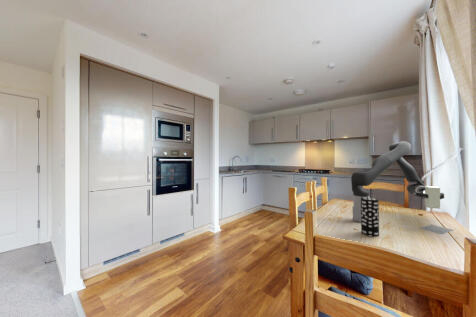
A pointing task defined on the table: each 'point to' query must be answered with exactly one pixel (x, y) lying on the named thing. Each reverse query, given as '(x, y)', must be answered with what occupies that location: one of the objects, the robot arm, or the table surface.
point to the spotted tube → (370, 216)
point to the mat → (436, 229)
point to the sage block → (432, 197)
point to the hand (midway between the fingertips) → (434, 197)
